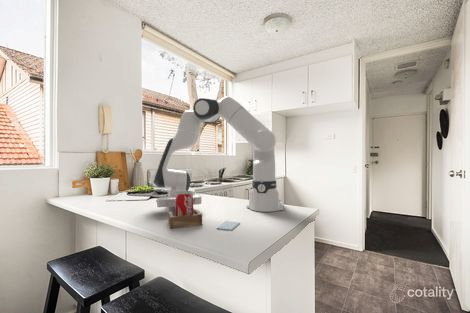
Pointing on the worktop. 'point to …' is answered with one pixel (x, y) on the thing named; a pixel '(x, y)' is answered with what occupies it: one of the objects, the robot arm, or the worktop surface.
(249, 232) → the worktop surface
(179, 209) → the soda can
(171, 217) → the can rack
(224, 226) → the slate card
